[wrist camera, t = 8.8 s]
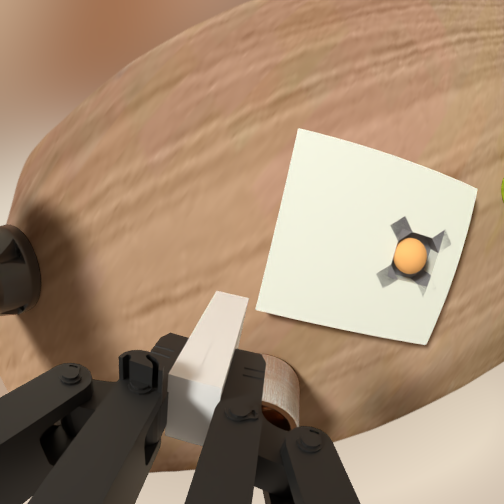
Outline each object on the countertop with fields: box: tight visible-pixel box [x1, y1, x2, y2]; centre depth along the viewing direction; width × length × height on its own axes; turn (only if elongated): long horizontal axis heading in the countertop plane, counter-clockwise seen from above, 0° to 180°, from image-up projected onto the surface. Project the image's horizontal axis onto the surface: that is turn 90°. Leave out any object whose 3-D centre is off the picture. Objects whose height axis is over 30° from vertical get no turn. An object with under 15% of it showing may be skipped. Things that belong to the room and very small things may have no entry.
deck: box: [255, 128, 477, 345], centre depth 33 cm, size 22×20×2 cm
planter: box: [258, 353, 300, 432], centre depth 35 cm, size 11×11×10 cm
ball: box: [393, 238, 427, 274], centre depth 31 cm, size 4×4×4 cm
